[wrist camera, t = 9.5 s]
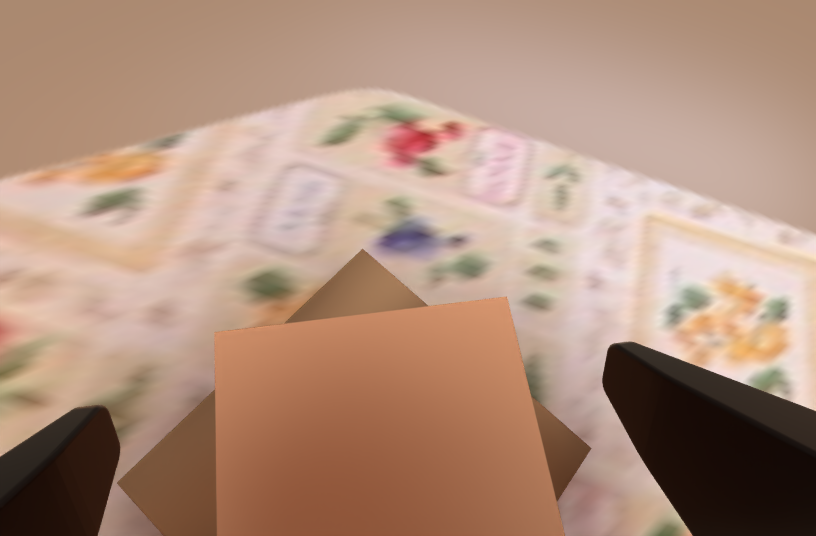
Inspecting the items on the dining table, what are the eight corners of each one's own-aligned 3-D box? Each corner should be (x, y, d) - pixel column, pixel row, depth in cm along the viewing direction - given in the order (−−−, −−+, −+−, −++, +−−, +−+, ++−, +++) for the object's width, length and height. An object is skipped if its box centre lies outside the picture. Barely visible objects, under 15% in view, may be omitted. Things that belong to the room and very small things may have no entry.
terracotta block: (456, 531, 15) (587, 630, 7) (297, 563, 14) (218, 722, 6) (429, 374, 17) (506, 296, 8) (286, 395, 16) (214, 332, 8)
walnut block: (546, 449, 20) (591, 448, 16) (373, 703, 16) (379, 777, 13) (360, 283, 22) (362, 249, 18) (164, 477, 18) (116, 483, 14)
